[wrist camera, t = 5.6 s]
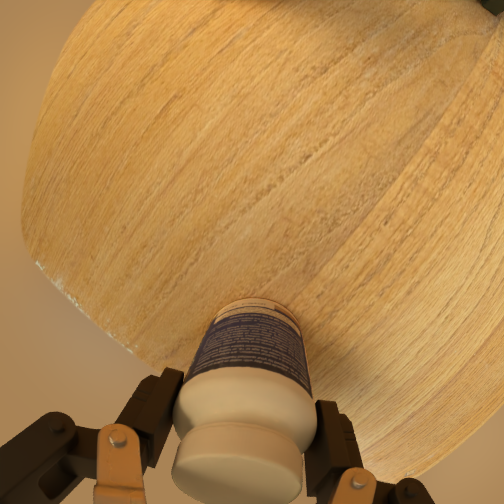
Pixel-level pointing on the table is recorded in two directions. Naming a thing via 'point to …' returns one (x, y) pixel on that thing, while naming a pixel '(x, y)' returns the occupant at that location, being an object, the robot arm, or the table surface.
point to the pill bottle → (245, 408)
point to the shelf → (493, 6)
